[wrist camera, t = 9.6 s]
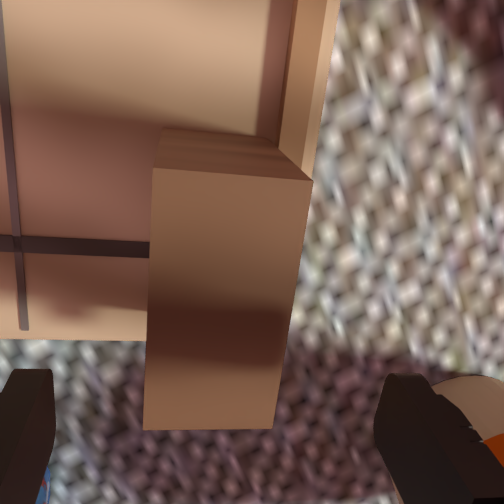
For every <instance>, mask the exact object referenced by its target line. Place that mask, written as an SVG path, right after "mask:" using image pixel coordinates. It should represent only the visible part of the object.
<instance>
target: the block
mask: <svg viewBox="0 0 504 504" xmlns="http://www.w3.org/2000/svg"><path fill="white" fill-rule="evenodd" d="M312 187H313V180H312V179H311V178H310V177H308V176H307V175H306V174H305V173H304V172H303V171H302V170H301V169H300V168H299V167H298V166H297V165H296V164H294V163H293V162H292V161H291V160H290V159H289V158H288V157H287V156H286V155H285V154H284V153H283V152H282V151H280V150H279V149H278V148H277V147H276V146H275V145H274V144H273V143H272V142H271V141H270V140H269V139H267V138H263V137H253V136H243V135H233V134H223V133H212V132H202V131H192V130H182V129H172V128H162V132H161V136H160V140H159V144H158V149H157V153H156V157H155V161H154V165H153V176H152V202H151V228H150V254H149V280H148V306H147V332H146V358H145V384H144V410H143V430H212V429H272V427H273V421H274V415H275V409H276V403H277V397H278V391H279V385H280V379H281V373H282V367H283V361H284V355H285V349H286V343H287V337H288V331H289V325H290V319H291V313H292V307H293V301H294V295H295V289H296V283H297V277H298V271H299V265H300V259H301V253H302V247H303V241H304V235H305V229H306V223H307V217H308V211H309V205H310V199H311V193H312Z"/></svg>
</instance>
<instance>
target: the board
mask: <svg viewBox="0 0 504 504" xmlns="http://www.w3.org/2000/svg"><path fill="white" fill-rule="evenodd" d="M339 6H340V0H0V339H46V340H113V341H146V332H147V306H148V280H149V254H150V228H151V202H152V176H153V165H154V161H155V157H156V153H157V149H158V144H159V140H160V136H161V132H162V128H172V129H182V130H192V131H202V132H212V133H223V134H233V135H243V136H253V137H263V138H267V139H269V140H270V141H271V142H272V143H273V144H274V145H275V146H276V147H277V148H278V149H279V150H280V151H282V152H283V153H284V154H285V155H286V156H287V157H288V158H289V159H290V160H291V161H292V162H293V163H294V164H296V165H297V166H298V167H299V168H300V169H301V170H302V171H303V172H304V173H305V174H306V175H307V176H308V177H310V178H311V177H312V171H313V165H314V159H315V152H316V146H317V140H318V134H319V128H320V122H321V116H322V110H323V104H324V98H325V91H326V85H327V79H328V73H329V67H330V61H331V55H332V49H333V43H334V36H335V30H336V24H337V18H338V12H339Z"/></svg>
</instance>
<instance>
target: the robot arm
mask: <svg viewBox="0 0 504 504" xmlns="http://www.w3.org/2000/svg"><path fill="white" fill-rule="evenodd" d="M55 431H56V415H55V399H54V384H53V373H52V370H51V369H14V370H13V371H12V373H11V375H10V377H9V379H8V381H7V383H6V385H5V386H4V388H3V390H2V392H1V393H0V504H35V503H36V500H37V497H38V494H39V491H40V487H41V484H42V481H43V478H44V475H45V472H46V469H47V465H48V462H49V459H50V456H51V453H52V449H53V445H54V439H55ZM373 431H374V438H375V442H376V445H377V448H378V450H379V452H380V454H381V456H382V458H383V460H384V462H385V464H386V467H387V469H388V471H389V473H390V475H391V477H392V479H393V481H394V483H395V486H396V488H397V490H398V492H399V494H400V496H401V498H402V500H403V502H404V504H504V467H503V466H502V465H501V463H500V462H499V461H498V459H497V458H496V457H495V455H494V454H493V453H492V451H491V450H490V448H489V447H488V446H487V444H484V443H483V441H484V440H483V439H482V438H481V436H480V435H479V434H478V432H477V431H476V430H473V426H472V424H471V423H470V422H469V420H468V419H467V418H466V416H465V415H464V414H463V412H462V411H461V410H460V409H459V408H458V407H457V406H456V405H454V404H453V403H452V402H451V401H449V400H448V399H447V398H446V397H444V396H443V395H442V394H436V393H435V392H434V390H433V389H432V387H431V386H430V385H429V383H428V382H427V380H426V379H425V378H424V377H423V376H422V375H421V374H418V373H391V374H389V375H388V376H387V378H386V380H385V383H384V387H383V390H382V394H381V397H380V401H379V404H378V408H377V411H376V415H375V418H374V425H373Z"/></svg>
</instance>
